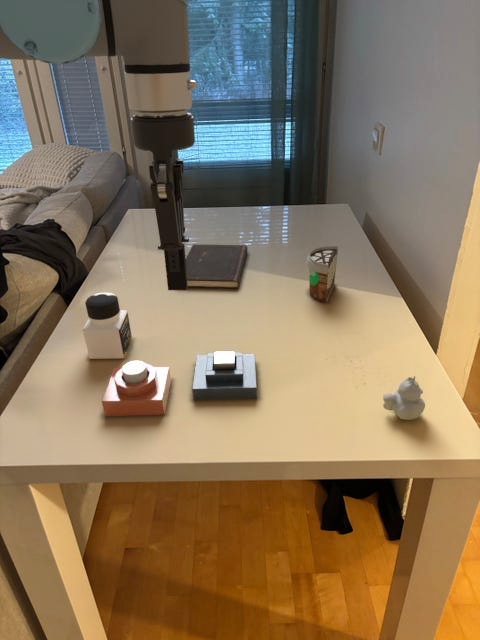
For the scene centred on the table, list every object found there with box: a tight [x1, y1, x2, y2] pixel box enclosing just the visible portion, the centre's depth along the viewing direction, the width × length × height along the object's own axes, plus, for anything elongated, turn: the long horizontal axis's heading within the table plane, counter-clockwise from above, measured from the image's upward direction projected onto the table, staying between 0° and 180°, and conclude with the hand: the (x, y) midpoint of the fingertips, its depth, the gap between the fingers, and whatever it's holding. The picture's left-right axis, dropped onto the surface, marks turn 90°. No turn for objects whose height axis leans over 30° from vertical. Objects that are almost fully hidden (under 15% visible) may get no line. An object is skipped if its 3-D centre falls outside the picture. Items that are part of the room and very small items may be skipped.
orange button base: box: [101, 362, 172, 417], centre depth 80 cm, size 10×9×5 cm
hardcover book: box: [185, 243, 248, 290], centre depth 126 cm, size 16×23×2 cm
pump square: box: [214, 350, 236, 371], centre depth 83 cm, size 4×4×2 cm
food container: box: [305, 245, 339, 303], centre depth 111 cm, size 12×6×10 cm, turn 159°
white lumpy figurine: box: [382, 375, 426, 421], centre depth 74 cm, size 5×7×8 cm
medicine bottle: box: [82, 291, 133, 360], centre depth 92 cm, size 7×7×12 cm
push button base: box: [191, 352, 258, 401], centre depth 84 cm, size 11×10×4 cm
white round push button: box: [121, 359, 148, 384], centre depth 79 cm, size 4×4×2 cm
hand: (177, 287), depth 68 cm, fingers closed
